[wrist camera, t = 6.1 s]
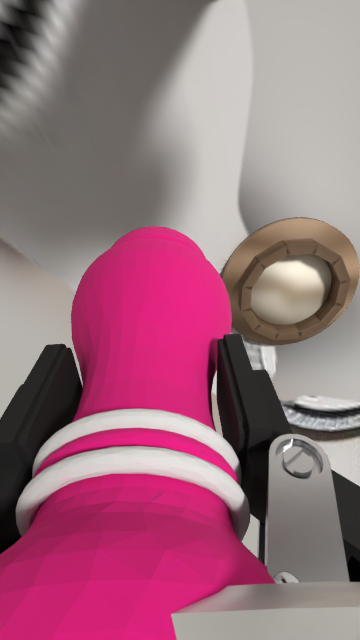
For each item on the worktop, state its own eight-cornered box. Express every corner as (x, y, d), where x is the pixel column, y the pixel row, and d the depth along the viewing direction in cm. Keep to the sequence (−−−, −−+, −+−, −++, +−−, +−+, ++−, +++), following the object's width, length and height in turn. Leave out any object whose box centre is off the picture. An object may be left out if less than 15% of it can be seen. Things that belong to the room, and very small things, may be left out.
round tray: (221, 222, 37) (225, 229, 34) (370, 212, 37) (386, 219, 34) (219, 343, 46) (222, 357, 44) (338, 336, 46) (349, 349, 44)
